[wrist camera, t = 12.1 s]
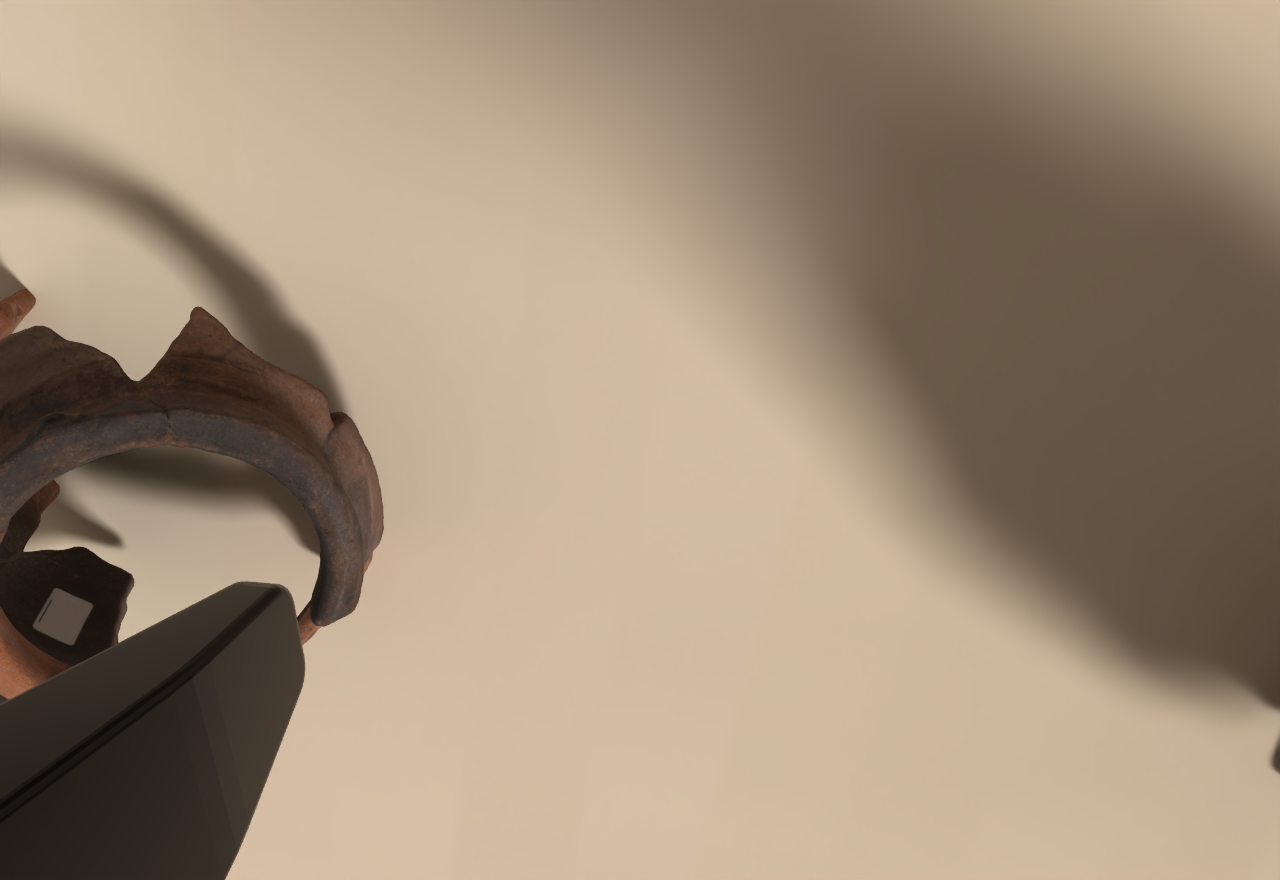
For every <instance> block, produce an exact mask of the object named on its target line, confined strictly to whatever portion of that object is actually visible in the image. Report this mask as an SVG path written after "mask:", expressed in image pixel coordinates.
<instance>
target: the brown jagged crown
mask: <svg viewBox="0 0 1280 880" xmlns="http://www.w3.org/2000/svg"><path fill="white" fill-rule="evenodd" d="M35 303H36V299H35V297H34V296H33V294H31V293H30V292H29V291H28V290H21V291H19V292H17V293H15V294H14V295H13V296H11V297H8V298H6V299H4V300H2V301H0V704H1V703H3V702H5V701H7V700H9V699H11V698H13V697H15V696H17V695H19V694H21V693H23V692H25V691H27V690H29V689H31V688H32V687H34V686H36V685H38V684H40V683H42V682H44V681H46V680H48V679H50V678H52V677H54V676H56V675H58V674H60V673H62V672H63V671H65V670H67V669H69V668H71V667H73V666H75V665H77V664H79V663H81V662H83V661H85V660H87V659H89V658H91V657H93V656H94V655H96V654H98V653H100V652H102V651H104V650H106V649H108V648H110V647H112V646H114V645H116V644H118V632H119V630H120V626H121V622H122V620H123V618H124V616H125V613H126V611H127V603H126V600H127V597H128V595H129V593H130V592H131V590H132V588H133V587H134V578H133V576H132V575H131V574H130V573H128V572H127V571H125V570H123V569H121V568H119V567H116V566H114V565H112V564H109V563H107V562H106V561H104V560H102V559H101V558H100V557H98V556H97V555H96V554H95V553H93V552H92V551H90V550H89V549H87V548H85V547H73V548H70V549H65V550H40V551H33V552H23V551H24V547H25V545H26V543H27V542H28V540H29V539H30V537H31V536H32V534H33V533H34V531H35V530H36V529H37V527H38V525H39V523H40V518H41V513H42V512H43V511H44V510H45V509H46V507H47V506H48V505H49V504H50V503H51V502H52V501H53V500H54V499H55V498H56V497H57V495H58V494H59V491H60V486H59V485H58V484H57V483H56V482H55V481H54V480H53V479H55V478H57V477H58V476H60V475H62V474H64V473H66V472H68V471H70V470H72V469H74V468H76V467H79V466H82V465H84V464H86V463H88V462H91V461H93V460H96V459H98V458H101V457H104V456H108V455H111V454H115V453H120V452H124V451H128V450H132V449H141V448H147V447H153V446H157V445H171V446H176V447H188V448H197V449H202V450H204V451H208V452H214V453H218V454H222V455H226V456H230V457H233V458H237V459H240V460H243V461H245V462H247V463H250V464H252V465H254V466H256V467H258V468H261V469H263V470H265V471H267V472H269V473H270V474H271V475H273V476H274V477H275V478H277V479H278V480H279V481H281V482H282V483H283V484H284V485H285V486H287V487H288V488H289V489H290V490H291V491H292V492H293V494H294V495H295V496H296V497H297V498H298V499H299V500H300V501H301V502H302V504H303V506H304V508H305V510H306V511H307V513H308V514H309V516H310V518H311V519H312V521H313V523H314V526H315V529H316V531H317V534H318V537H319V541H320V548H321V552H320V568H319V574H318V578H317V581H316V584H315V587H314V590H313V593H312V598H311V600H310V601H309V603H308V604H307V605H306V607H305V608H304V609H303V611H302V612H301V613H300V615H299V616H298V617H297V621H298V626H299V632H300V637H301V642H302V645H303V644H304V643H306V642H307V641H308V640H309V639H310V638H311V637H312V636H313V635H314V634H315V633H316V631H317V630H318V629H319V628H320V627H322V626H323V627H324V626H327V625H329V624H331V623H333V622H335V621H337V620H339V619H341V618H343V617H345V616H347V615H349V614H350V613H352V612H353V611H354V610H355V608H356V606H357V603H358V601H359V597H360V594H361V586H362V582H363V575H364V573H365V572H366V570H367V568H368V566H369V564H370V562H371V560H372V552H373V551H374V549H375V548H376V547H377V546H378V544H379V543H380V540H381V537H382V534H383V529H384V526H383V518H384V517H383V504H382V497H381V489H380V486H379V479H378V475H377V472H376V469H375V466H374V464H373V460H372V457H371V455H370V453H369V451H368V449H367V447H366V446H365V444H364V441H363V439H362V437H361V436H360V434H359V431H358V429H357V427H356V425H355V423H354V422H353V420H352V419H351V418H350V417H349V416H348V415H347V414H345V413H342V412H335V413H330V412H329V405H328V401H327V398H326V396H325V394H324V393H323V392H322V391H320V390H319V389H318V388H316V387H314V386H313V385H311V384H310V383H308V382H307V381H305V380H304V379H302V378H300V377H298V376H295V375H293V374H290V373H287V372H285V371H283V370H281V369H280V368H279V367H276V366H274V365H272V364H270V363H268V362H266V361H264V360H263V359H261V358H260V357H259V356H257V355H256V354H254V353H253V352H251V351H250V350H249V349H247V348H246V347H245V346H244V345H243V344H242V343H240V342H239V341H237V340H236V339H235V338H234V337H233V336H231V334H230V333H229V331H228V330H227V328H226V327H225V326H224V325H223V324H222V323H220V322H219V321H218V320H217V319H216V318H215V317H213V316H212V315H211V314H209V313H208V312H207V311H205V310H204V309H203V308H201V307H195V308H194V309H193V310H192V312H191V315H190V320H189V322H188V323H187V324H186V326H185V327H184V328H183V330H182V331H181V333H180V334H179V336H178V337H177V338H176V339H175V340H174V341H173V342H172V344H171V345H170V347H169V349H168V350H167V352H166V353H165V355H164V356H163V357H162V358H161V359H160V361H159V362H158V363H157V364H156V366H155V367H154V368H153V369H152V370H151V372H150V373H149V374H147V375H146V376H145V377H144V378H143V379H142V380H140V381H133V380H131V379H130V378H129V377H128V376H127V375H126V373H125V372H124V371H123V369H122V368H121V366H120V365H119V364H118V362H117V361H116V360H115V359H114V358H113V357H111V356H109V355H108V354H106V353H103V352H101V351H99V350H98V349H96V348H94V347H92V346H89V345H85V344H82V343H78V342H73V341H68V340H66V339H64V338H62V337H61V336H60V335H58V334H57V333H56V332H54V331H53V330H52V329H50V328H47V327H45V326H34V327H31V328H28V329H25V330H22V331H20V332H17V333H14V334H12V333H13V331H14V330H15V328H16V327H17V326H18V324H19V323H20V322H21V320H22V319H23V318H24V317H25V316H26V315H27V313H28V312H29V311H30V310H31V309H32V308H33V307H34V305H35Z"/></svg>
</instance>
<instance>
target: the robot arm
mask: <svg viewBox="0 0 1280 880" xmlns="http://www.w3.org/2000/svg"><path fill="white" fill-rule="evenodd" d="M304 676H305V658H304V653H303V647H302V642H301V637H300V632H299V626H298V621H297V616H296V610H295V605H294V601H293V598H292V595H291V593H290V591H289V590H288V589H287V588H286V587H284V586H282V585H280V584H270V583H258V582H237V583H234V584H232V585H230V586H228V587H226V588H224V589H222V590H220V591H219V592H217V593H215V594H213V595H211V596H209V597H207V598H205V599H203V600H201V601H199V602H197V603H195V604H193V605H191V606H189V607H188V608H186V609H184V610H182V611H180V612H178V613H176V614H174V615H172V616H170V617H168V618H166V619H164V620H162V621H160V622H158V623H157V624H155V625H153V626H151V627H149V628H147V629H145V630H143V631H141V632H139V633H137V634H135V635H133V636H131V637H129V638H127V639H125V640H124V641H122V642H120V643H118V644H116V645H114V646H112V647H110V648H108V649H106V650H104V651H102V652H100V653H98V654H96V655H94V656H93V657H91V658H89V659H87V660H85V661H83V662H81V663H79V664H77V665H75V666H73V667H71V668H69V669H67V670H65V671H63V672H62V673H60V674H58V675H56V676H54V677H52V678H50V679H48V680H46V681H44V682H42V683H40V684H38V685H36V686H34V687H32V688H31V689H29V690H27V691H25V692H23V693H21V694H19V695H17V696H15V697H13V698H11V699H9V700H7V701H5V702H3V703H1V704H0V880H225V879H226V877H227V875H228V872H229V870H230V868H231V866H232V864H233V862H234V860H235V858H236V856H237V854H238V852H239V849H240V847H241V844H242V842H243V840H244V837H245V835H246V832H247V830H248V828H249V825H250V823H251V820H252V817H253V815H254V812H255V810H256V807H257V804H258V802H259V799H260V797H261V794H262V791H263V789H264V786H265V784H266V781H267V778H268V776H269V773H270V771H271V768H272V765H273V763H274V760H275V758H276V755H277V752H278V750H279V747H280V745H281V742H282V739H283V737H284V734H285V732H286V729H287V726H288V724H289V721H290V719H291V716H292V713H293V711H294V708H295V706H296V703H297V700H298V698H299V695H300V693H301V690H302V686H303V682H304Z"/></svg>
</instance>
